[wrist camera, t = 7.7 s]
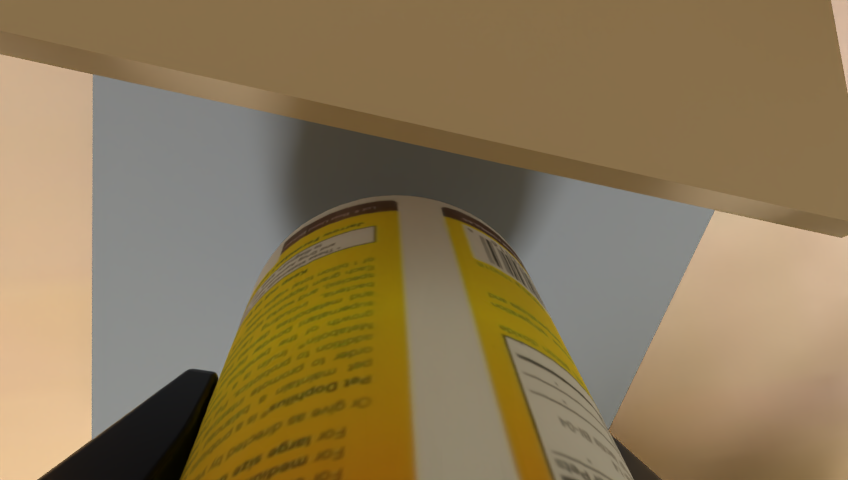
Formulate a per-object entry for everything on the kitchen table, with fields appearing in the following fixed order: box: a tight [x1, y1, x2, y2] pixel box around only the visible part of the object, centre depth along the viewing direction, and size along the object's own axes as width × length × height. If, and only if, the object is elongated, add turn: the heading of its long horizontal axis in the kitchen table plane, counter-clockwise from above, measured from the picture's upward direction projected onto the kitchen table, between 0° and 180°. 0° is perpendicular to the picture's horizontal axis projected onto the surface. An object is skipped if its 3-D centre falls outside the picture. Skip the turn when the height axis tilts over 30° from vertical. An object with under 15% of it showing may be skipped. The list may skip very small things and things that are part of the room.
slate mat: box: [92, 74, 715, 439], centre depth 13 cm, size 13×12×1 cm
